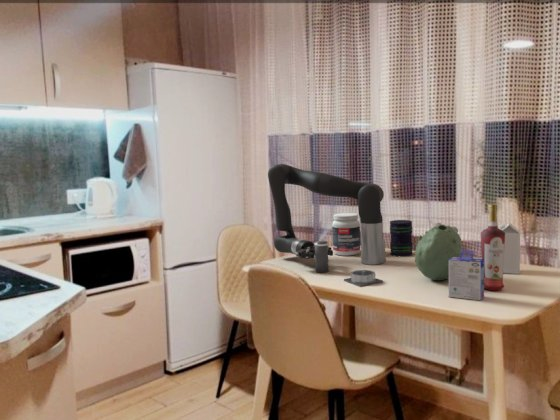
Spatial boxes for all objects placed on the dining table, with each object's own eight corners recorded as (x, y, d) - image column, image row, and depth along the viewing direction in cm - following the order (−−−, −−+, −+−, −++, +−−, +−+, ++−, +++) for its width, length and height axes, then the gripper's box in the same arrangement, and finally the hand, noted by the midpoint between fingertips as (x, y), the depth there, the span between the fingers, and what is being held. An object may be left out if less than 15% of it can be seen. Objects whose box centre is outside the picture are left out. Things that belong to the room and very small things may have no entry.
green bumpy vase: (405, 282, 173) (404, 226, 170) (430, 271, 186) (429, 219, 184) (448, 289, 162) (447, 230, 160) (471, 276, 175) (470, 222, 173)
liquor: (485, 292, 156) (485, 206, 153) (477, 286, 163) (477, 204, 160) (508, 291, 156) (509, 205, 152) (499, 285, 163) (499, 203, 160)
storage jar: (415, 252, 220) (415, 220, 218) (408, 257, 212) (408, 223, 210) (394, 251, 225) (393, 219, 224) (387, 255, 217) (386, 222, 215)
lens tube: (324, 269, 198) (323, 240, 197) (331, 271, 193) (330, 242, 192) (312, 271, 196) (311, 241, 194) (319, 273, 191) (318, 243, 189)
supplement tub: (341, 257, 218) (339, 217, 215) (328, 252, 229) (326, 214, 227) (366, 254, 222) (364, 214, 220) (352, 249, 234) (350, 212, 232)
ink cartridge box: (484, 296, 152) (484, 251, 151) (481, 301, 148) (481, 254, 146) (452, 292, 158) (451, 249, 156) (448, 297, 153) (447, 252, 151)
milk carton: (519, 269, 182) (519, 219, 180) (519, 274, 175) (520, 222, 173) (498, 268, 185) (498, 219, 183) (498, 273, 178) (498, 222, 176)
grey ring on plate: (365, 276, 183) (365, 268, 183) (382, 282, 174) (382, 273, 174) (343, 280, 179) (343, 272, 178) (359, 286, 170) (359, 277, 169)
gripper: (287, 241, 203) (307, 247, 189) (317, 237, 210) (337, 243, 195) (288, 259, 204) (307, 266, 190) (317, 254, 210) (338, 261, 196)
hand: (322, 254), depth 192 cm, fingers open, 8 cm apart
